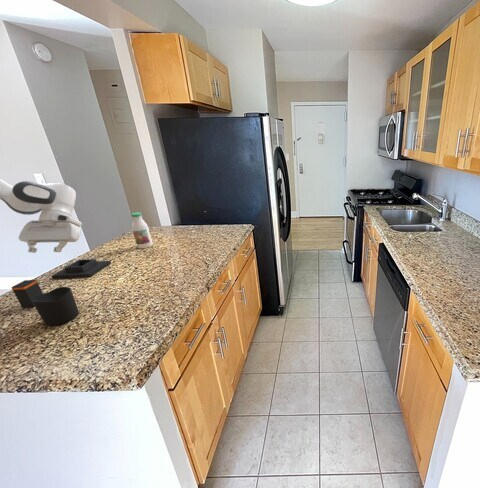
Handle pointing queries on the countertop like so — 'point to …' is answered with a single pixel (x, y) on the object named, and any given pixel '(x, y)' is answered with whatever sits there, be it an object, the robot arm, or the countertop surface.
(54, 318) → the pen holder
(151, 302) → the countertop surface
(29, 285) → the black orange block
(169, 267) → the countertop surface
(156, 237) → the countertop surface
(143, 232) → the milk bottle
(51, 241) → the robot arm
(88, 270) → the connector base
